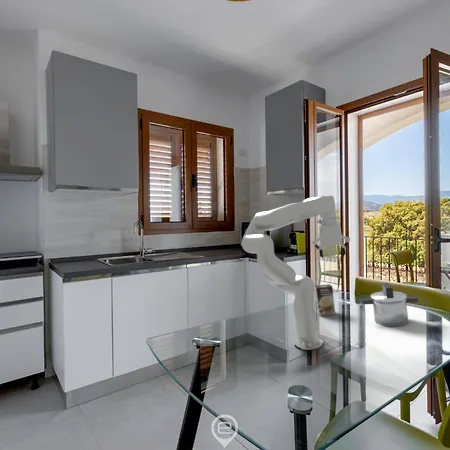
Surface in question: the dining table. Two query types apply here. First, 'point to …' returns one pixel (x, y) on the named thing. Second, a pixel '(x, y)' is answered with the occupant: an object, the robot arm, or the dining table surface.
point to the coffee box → (324, 300)
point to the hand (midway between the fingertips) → (332, 257)
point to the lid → (388, 295)
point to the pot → (391, 312)
